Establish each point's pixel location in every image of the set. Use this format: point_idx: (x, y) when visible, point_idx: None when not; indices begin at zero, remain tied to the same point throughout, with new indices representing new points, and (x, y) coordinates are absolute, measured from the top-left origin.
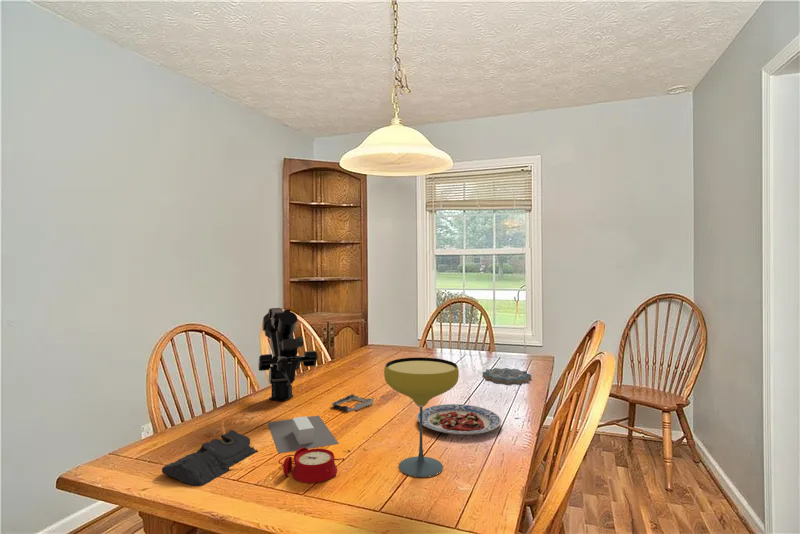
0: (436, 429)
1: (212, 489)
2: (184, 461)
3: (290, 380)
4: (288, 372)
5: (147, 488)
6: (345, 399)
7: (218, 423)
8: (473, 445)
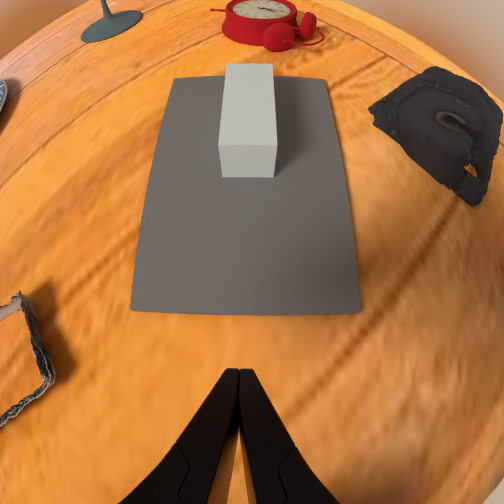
0: (5, 92)
1: (413, 54)
2: (481, 95)
3: (248, 378)
4: (265, 448)
5: None
6: (2, 416)
7: (495, 375)
8: (12, 72)
